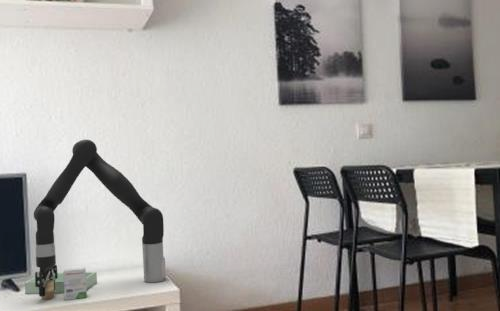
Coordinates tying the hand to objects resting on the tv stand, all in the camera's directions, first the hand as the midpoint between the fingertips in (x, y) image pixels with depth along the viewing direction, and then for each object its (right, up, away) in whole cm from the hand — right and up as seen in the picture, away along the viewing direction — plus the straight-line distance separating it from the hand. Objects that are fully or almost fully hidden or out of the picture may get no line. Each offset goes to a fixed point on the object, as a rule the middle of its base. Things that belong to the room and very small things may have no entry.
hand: (47, 293), depth 210 cm
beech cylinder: (0, -2, 0) cm, 2 cm away
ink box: (+12, -2, -1) cm, 12 cm away
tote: (+1, -2, +15) cm, 15 cm away
